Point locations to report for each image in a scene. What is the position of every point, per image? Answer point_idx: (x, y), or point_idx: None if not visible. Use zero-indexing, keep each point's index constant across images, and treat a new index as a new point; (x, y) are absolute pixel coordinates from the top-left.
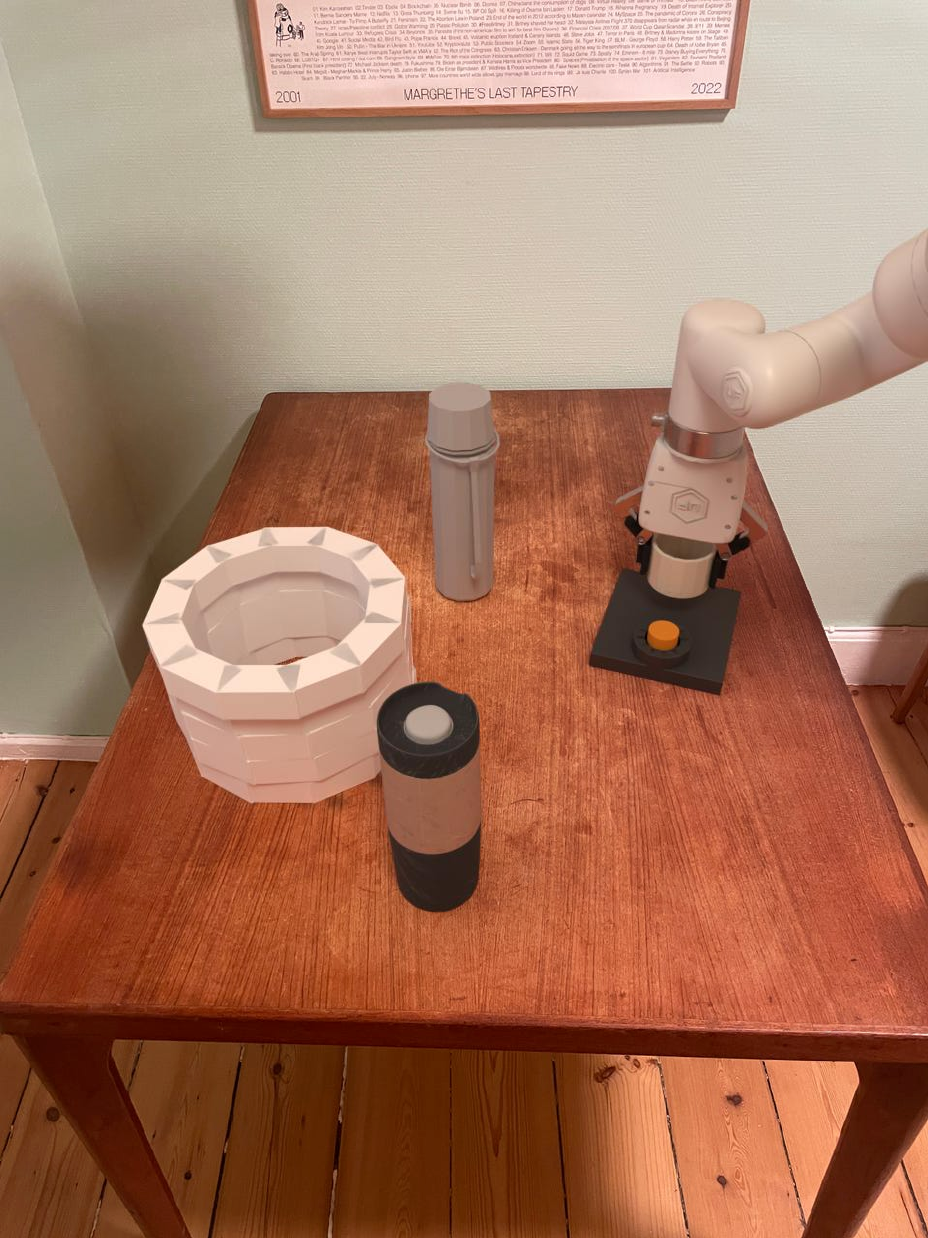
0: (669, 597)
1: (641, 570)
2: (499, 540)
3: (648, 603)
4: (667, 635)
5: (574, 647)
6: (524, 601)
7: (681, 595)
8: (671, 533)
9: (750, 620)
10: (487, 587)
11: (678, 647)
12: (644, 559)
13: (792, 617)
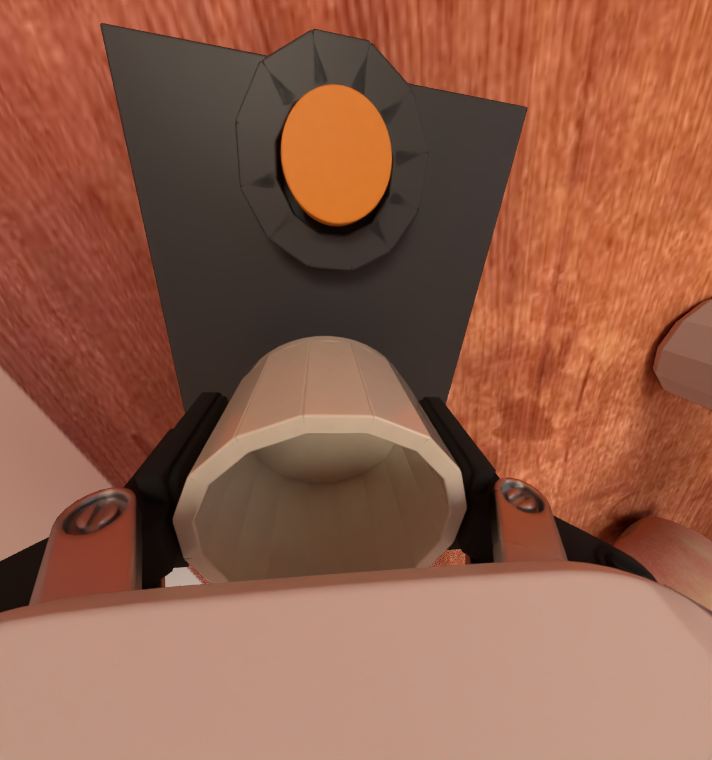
0: None
1: (440, 403)
2: (605, 461)
3: None
4: (320, 123)
5: (524, 199)
6: (600, 329)
7: (304, 341)
8: (460, 598)
9: (166, 390)
10: (696, 328)
11: (276, 124)
12: (455, 429)
13: (88, 420)
